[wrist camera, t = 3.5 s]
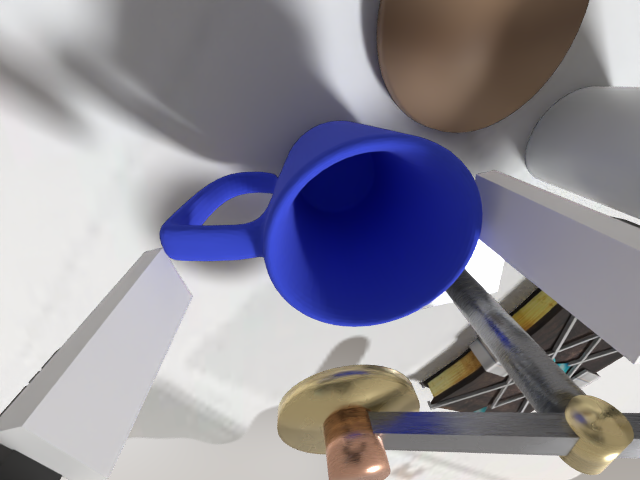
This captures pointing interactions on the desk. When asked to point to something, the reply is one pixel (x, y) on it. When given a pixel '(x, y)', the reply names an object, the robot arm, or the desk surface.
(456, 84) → the dish
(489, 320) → the balance
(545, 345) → the book
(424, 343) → the desk surface
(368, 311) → the mug
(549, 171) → the white cylinder
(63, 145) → the desk surface
